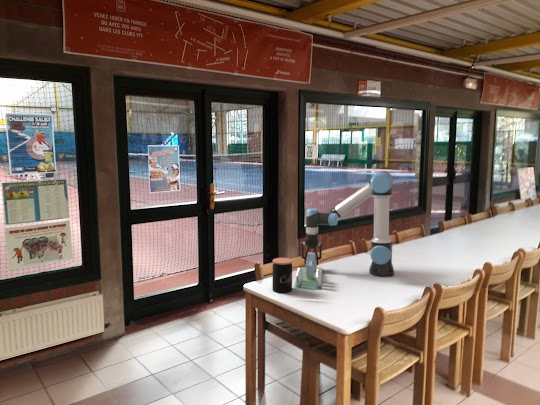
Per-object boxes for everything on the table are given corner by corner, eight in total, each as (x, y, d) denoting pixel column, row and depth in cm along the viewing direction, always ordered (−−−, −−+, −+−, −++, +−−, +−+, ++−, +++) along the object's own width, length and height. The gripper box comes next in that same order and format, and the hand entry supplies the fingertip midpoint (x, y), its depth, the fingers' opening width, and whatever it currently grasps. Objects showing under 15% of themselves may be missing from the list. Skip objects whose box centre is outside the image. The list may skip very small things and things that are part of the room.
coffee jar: (280, 297, 220) (280, 264, 218) (268, 291, 229) (268, 259, 226) (295, 293, 227) (296, 260, 224) (283, 287, 235) (284, 256, 233)
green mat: (323, 270, 267) (323, 268, 267) (321, 292, 228) (321, 290, 227) (299, 269, 269) (299, 267, 269) (293, 290, 230) (293, 288, 230)
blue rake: (315, 268, 269) (315, 252, 269) (314, 275, 243) (314, 258, 243) (307, 267, 270) (308, 252, 270) (305, 275, 244) (306, 258, 244)
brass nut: (314, 277, 249) (314, 272, 249) (313, 280, 245) (313, 275, 244) (305, 277, 250) (305, 272, 250) (304, 279, 246) (305, 274, 245)
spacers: (321, 281, 242) (321, 268, 241) (321, 289, 229) (321, 275, 228) (297, 280, 244) (297, 267, 243) (295, 287, 231) (295, 273, 230)
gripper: (326, 232, 262) (325, 268, 265) (298, 231, 265) (297, 267, 268) (326, 235, 255) (325, 271, 258) (297, 234, 258) (296, 270, 261)
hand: (311, 269), depth 263 cm, fingers closed on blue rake, 5 cm apart
